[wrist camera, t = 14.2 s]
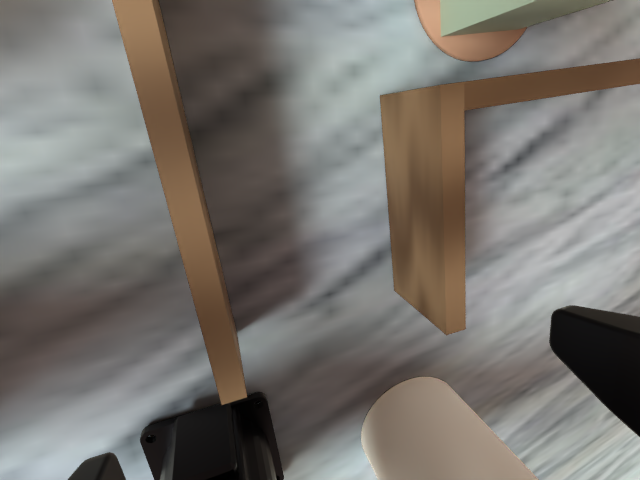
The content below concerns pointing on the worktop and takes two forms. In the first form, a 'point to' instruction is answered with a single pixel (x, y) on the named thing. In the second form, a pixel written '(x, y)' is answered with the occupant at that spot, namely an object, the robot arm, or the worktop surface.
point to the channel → (400, 165)
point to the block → (503, 14)
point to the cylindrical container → (434, 437)
